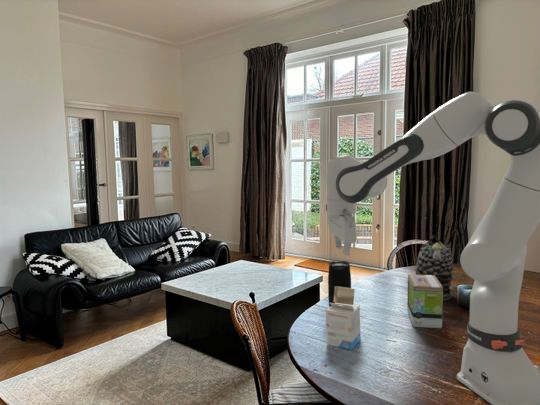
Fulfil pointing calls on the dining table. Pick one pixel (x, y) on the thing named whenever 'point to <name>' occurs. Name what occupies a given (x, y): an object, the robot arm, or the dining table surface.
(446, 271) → the pine cone
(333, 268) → the portable speaker
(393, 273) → the dining table surface
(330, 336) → the ink box
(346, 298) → the oak cube
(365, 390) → the dining table surface
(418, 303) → the tea box
